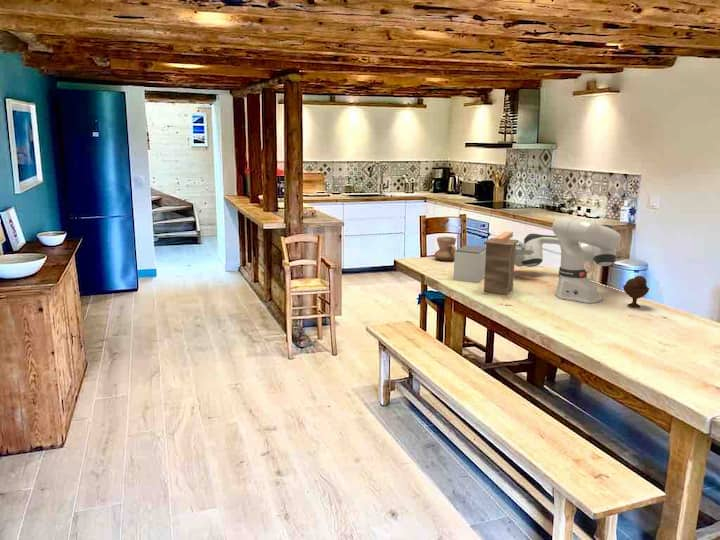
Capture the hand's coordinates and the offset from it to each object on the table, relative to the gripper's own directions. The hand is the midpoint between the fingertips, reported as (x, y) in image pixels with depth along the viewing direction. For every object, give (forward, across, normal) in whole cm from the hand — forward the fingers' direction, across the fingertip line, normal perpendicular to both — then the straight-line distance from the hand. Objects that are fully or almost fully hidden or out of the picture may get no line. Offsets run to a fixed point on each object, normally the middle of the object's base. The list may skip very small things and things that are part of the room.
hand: (511, 243), depth 324 cm
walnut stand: (+10, 0, -30) cm, 32 cm away
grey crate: (-8, +21, -20) cm, 30 cm away
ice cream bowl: (+8, -64, -29) cm, 71 cm away
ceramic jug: (-42, +48, -1) cm, 64 cm away
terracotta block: (+19, 0, -6) cm, 20 cm away
